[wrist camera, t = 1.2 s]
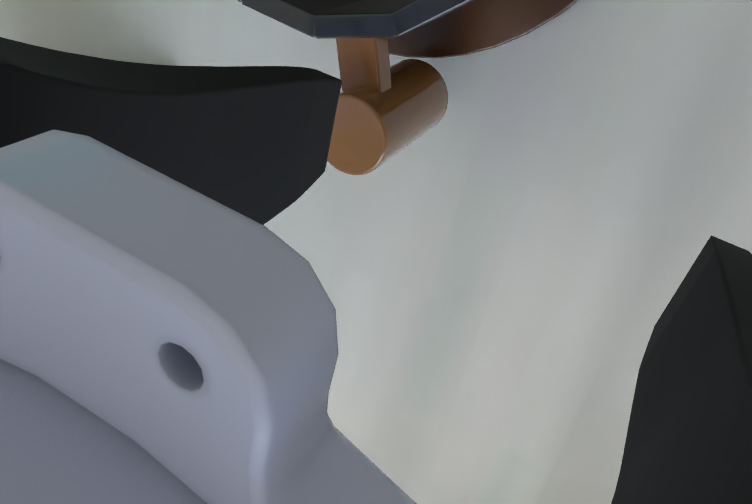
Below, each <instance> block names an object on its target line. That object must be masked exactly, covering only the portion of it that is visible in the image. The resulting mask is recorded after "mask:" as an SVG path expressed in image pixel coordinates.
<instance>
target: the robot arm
mask: <svg viewBox="0 0 752 504" xmlns="http://www.w3.org/2000/svg"><path fill="white" fill-rule="evenodd" d="M341 83H342V80H340V79H337V78H335V77H332V76H330V75H328V74H325V73H323V72H321V71H318V70H315V69H310V68H303V67H288V66H244V67H213V66H170V65H154V64H144V63H134V62H124V61H116V60H109V59H103V58H97V57H91V56H85V55H79V54H73V53H67V52H62V51H57V50H52V49H48V48H43V47H39V46H34V45H30V44H26V43H22V42H18V41H14V40H10V39H6V38H2V37H0V504H417V503H416V502H414V501H413V500H412V499H411V498H410V497H409V496H408V495H407V494H406V493H405V492H404V491H403V490H402V489H401V488H400V487H398V486H397V485H396V484H395V483H394V482H393V481H392V480H391V479H390V478H389V477H388V476H387V475H386V474H385V473H384V472H382V471H381V470H380V469H379V468H378V467H377V466H376V465H375V464H374V463H373V462H372V461H371V460H370V459H369V458H368V457H366V456H365V455H364V454H363V453H362V452H361V451H360V450H359V449H358V448H357V447H356V446H355V445H354V444H353V443H352V442H350V441H349V440H348V439H347V438H346V437H345V436H344V435H343V434H342V433H341V432H340V431H339V430H338V429H337V428H336V427H334V425H333V423H332V421H331V420H330V418H329V416H328V413H327V405H328V393H329V389H330V385H331V381H332V377H333V373H334V369H335V365H336V361H337V357H338V342H337V326H336V310H335V308H334V306H333V304H332V302H331V300H330V299H329V297H328V295H327V293H326V292H325V290H324V288H323V286H322V285H321V283H320V281H319V279H318V277H317V276H316V274H315V272H314V270H313V269H312V267H311V265H310V263H309V262H308V261H307V260H306V259H305V258H304V257H302V256H301V255H300V254H299V253H297V252H296V251H295V250H294V249H293V248H291V247H290V246H289V245H288V244H286V243H285V242H284V241H283V240H281V239H280V238H279V237H278V236H276V235H275V234H274V233H273V232H271V231H270V230H269V229H268V228H267V227H265V226H263V225H264V224H265V223H266V222H268V221H269V220H271V219H272V218H273V217H275V216H276V215H277V214H279V213H280V212H281V211H283V210H284V209H285V208H287V207H288V206H290V205H291V204H292V203H293V202H295V201H296V200H297V199H298V198H299V197H300V196H301V195H302V194H303V193H304V192H305V191H306V190H307V189H308V188H309V187H310V186H311V185H312V184H313V183H314V182H315V181H316V180H317V179H318V178H319V177H320V176H321V175H322V174H323V173H324V172H325V168H326V162H327V157H328V152H329V147H330V141H331V136H332V131H333V125H334V120H335V115H336V110H337V104H338V99H339V94H340V88H341ZM611 504H752V254H751V253H750V252H749V251H747V250H745V249H742V248H740V247H737V246H735V245H733V244H730V243H728V242H725V241H723V240H721V239H718V238H716V237H714V236H711V237H710V238H709V240H708V241H707V243H706V245H705V246H704V248H703V249H702V251H701V253H700V254H699V256H698V257H697V259H696V261H695V262H694V264H693V265H692V267H691V269H690V270H689V272H688V273H687V275H686V277H685V278H684V280H683V281H682V283H681V285H680V286H679V288H678V289H677V291H676V293H675V294H674V296H673V297H672V299H671V301H670V302H669V304H668V305H667V307H666V309H665V310H664V312H663V313H662V315H661V317H660V318H659V320H658V321H657V323H656V325H655V326H654V329H653V332H652V335H651V337H650V340H649V343H648V346H647V348H646V351H645V354H644V357H643V360H642V363H641V365H640V368H639V373H638V378H637V383H636V389H635V394H634V399H633V404H632V410H631V415H630V421H629V426H628V432H627V437H626V443H625V448H624V454H623V459H622V465H621V470H620V474H619V478H618V482H617V486H616V490H615V494H614V497H613V500H612V503H611Z"/></svg>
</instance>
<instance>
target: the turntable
mask: <svg viewBox="0 0 752 504" xmlns="http://www.w3.org/2000/svg"><path fill="white" fill-rule="evenodd" d="M578 1H579V0H481V1H479V2H477V3H475V4H473V5H471V6H469V7H467V8H465V9H463V10H461V11H459V12H457V13H454V14H452V15H450V16H447V17H445V18H443V19H440V20H438V21H436V22H433V23H431V24H429V25H426V26H424V27H422V28H420V29H417V30H415V31H413V32H410V33H408V34H406V35H403V36H398V37H396V38H388V49H389V54H393V55H398V56H404V57H415V58H443V57H451V56H460V55H467V54H471V53H475V52H479V51H483V50H486V49H490V48H494V47H497V46H500V45H502V44H504V43H507V42H509V41H512V40H514V39H516V38H519V37H521V36H524V35H526V34H528V33H530V32H531V31H533V30H535V29H536V28H538V27H540V26H542V25H543V24H545V23H547V22H548V21H550V20H552V19H554V18H555V17H557V16H559V15H560V14H562V13H563V12H565V11H566V10H568V9H569V8H570V7H572V6H573V5H574V4H575V3H577V2H578Z"/></svg>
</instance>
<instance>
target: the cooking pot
mask: <svg viewBox="0 0 752 504" xmlns="http://www.w3.org/2000/svg"><path fill="white" fill-rule="evenodd" d="M238 1H239V2H242V4H243V5H245V6H248V7H250V8H252V9H254V10H256V11H258V12H260V13H262V14H264V15H267V16H269V17H271V18H273V19H275V20H277V21H279V22H281V23H284V24H286V25H288V26H290V27H292V28H294V29H296V30H298V31H300V32H303V33H305V34H307V35H309V36H311V37H316V38H318V39H320V38H336V42H337V51H338V59H339V68H340V77H341V80H342V83H341V86H342V91H340V94H339V99H338V104H337V110H336V115H335V120H334V125H333V131H332V136H331V141H330V147H329V152H328V157H327V161H328V162H329V163H330V164H331V165H332V166H334V167H335V168H336V169H338V170H340V171H342V172H344V173H347V174H352V175H363V174H367V173H370V172H372V171H373V170H375V169H376V168H378V167H379V166H380V165H382V164H383V163H384V162H386V161H387V160H389V159H390V158H391V157H393V156H394V155H395V154H397V153H398V152H399V151H401V150H402V149H403V148H405V147H406V146H408V145H409V144H410V143H412V142H413V141H414V140H416V139H417V138H418V137H420V136H421V135H422V134H424V133H425V132H426V131H428V130H429V129H431V128H432V127H433V126H435V125H436V124H437V123H438V122H439V121H440V120H441V119H442V117H443V116H444V114H445V111H446V108H447V104H448V92H447V87H446V84H445V82H444V80H443V78H442V76H441V75H440V73H439V72H438V71H437V70H436V69H435V68H434V67H432V66H431V65H430V64H428V63H426V62H424V61H421V60H417V59H408V60H403V61H401V62H399V63H397V64H395V65H393V66H391V67H390V62H389V49H388V38H396V37H398V36H403V35H406V34H408V33H410V32H413V31H415V30H417V29H420V28H422V27H424V26H426V25H429V24H431V23H433V22H436V21H438V20H440V19H443V18H445V17H447V16H450V15H452V14H454V13H457V12H459V11H461V10H463V9H465V8H467V7H469V6H471V5H473V4H475V3H477V2H479V1H481V0H238Z"/></svg>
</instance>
